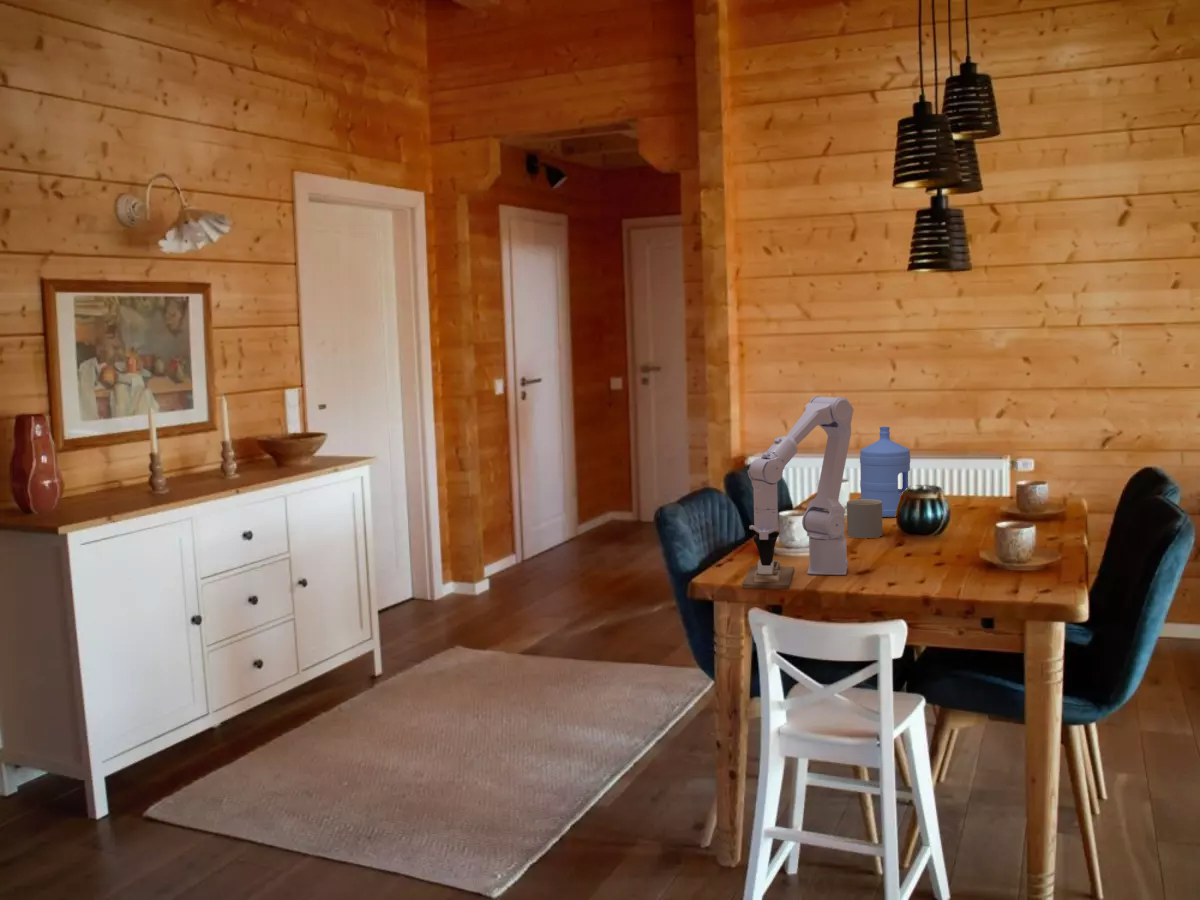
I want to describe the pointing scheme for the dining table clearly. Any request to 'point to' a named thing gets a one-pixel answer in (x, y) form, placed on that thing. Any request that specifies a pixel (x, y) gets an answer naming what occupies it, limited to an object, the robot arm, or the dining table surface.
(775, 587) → the socket board
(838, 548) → the robot arm
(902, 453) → the water jug
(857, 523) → the coffee mug
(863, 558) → the dining table surface
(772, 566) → the square peg
